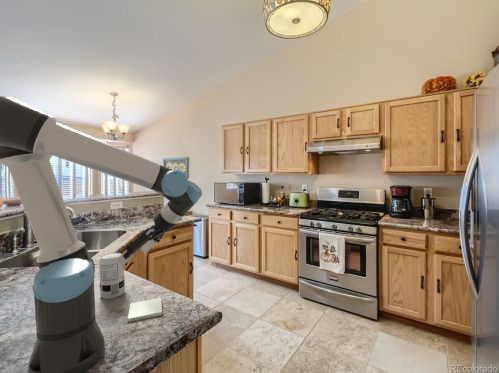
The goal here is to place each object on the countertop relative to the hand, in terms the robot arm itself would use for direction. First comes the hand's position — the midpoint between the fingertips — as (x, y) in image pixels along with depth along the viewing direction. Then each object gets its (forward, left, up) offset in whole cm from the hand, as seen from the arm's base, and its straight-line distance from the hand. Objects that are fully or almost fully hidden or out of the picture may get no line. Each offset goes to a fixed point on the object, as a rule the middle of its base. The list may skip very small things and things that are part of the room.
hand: (132, 256), depth 94 cm
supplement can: (+3, +8, -15) cm, 17 cm away
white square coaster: (-14, -4, -15) cm, 20 cm away
